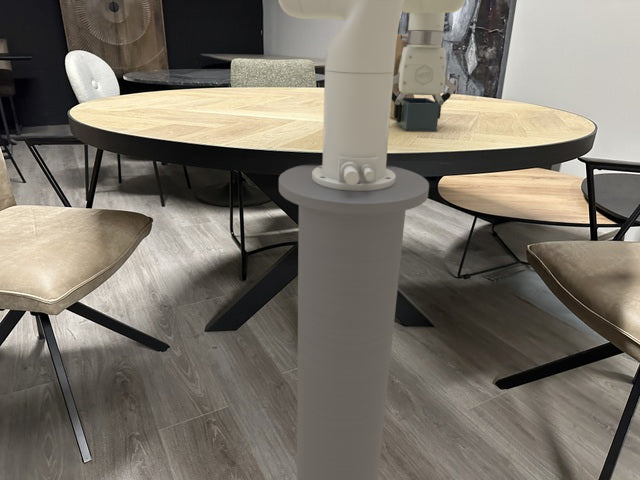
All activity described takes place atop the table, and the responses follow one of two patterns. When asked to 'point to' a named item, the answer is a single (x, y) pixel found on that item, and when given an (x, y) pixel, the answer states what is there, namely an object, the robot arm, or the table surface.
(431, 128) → the box
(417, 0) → the robot arm
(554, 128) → the table surface
